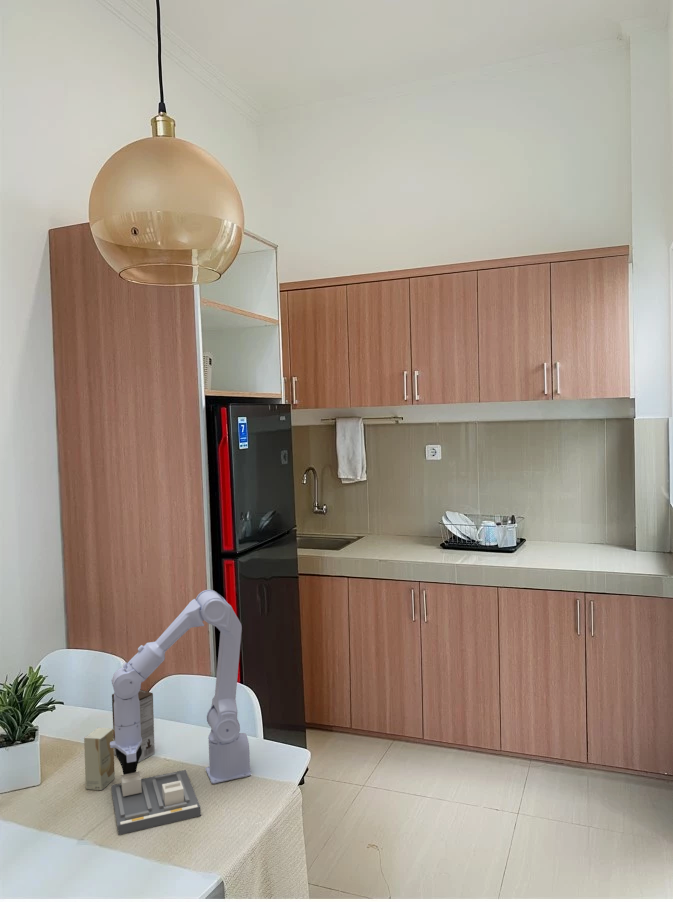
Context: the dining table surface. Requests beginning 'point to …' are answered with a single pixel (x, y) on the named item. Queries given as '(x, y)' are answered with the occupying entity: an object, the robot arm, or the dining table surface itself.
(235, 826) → the dining table surface
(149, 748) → the coffee box
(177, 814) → the switch board
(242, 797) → the dining table surface
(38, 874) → the dining table surface
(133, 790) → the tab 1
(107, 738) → the skincare box
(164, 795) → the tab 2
